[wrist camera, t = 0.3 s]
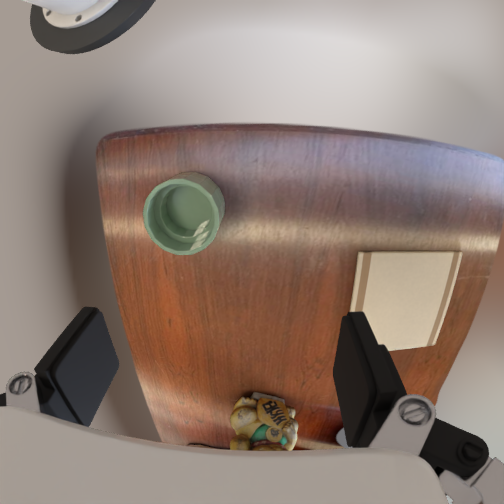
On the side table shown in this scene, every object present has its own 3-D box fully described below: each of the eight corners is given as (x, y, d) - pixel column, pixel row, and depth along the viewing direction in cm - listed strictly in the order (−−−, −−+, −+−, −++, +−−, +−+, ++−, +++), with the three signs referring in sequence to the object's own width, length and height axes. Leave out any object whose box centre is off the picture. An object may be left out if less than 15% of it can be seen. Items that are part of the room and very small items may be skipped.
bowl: (156, 173, 29) (139, 181, 24) (224, 170, 28) (216, 177, 24) (163, 237, 31) (148, 255, 27) (227, 237, 31) (221, 254, 27)
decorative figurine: (303, 396, 40) (312, 486, 26) (284, 425, 43) (287, 506, 29) (237, 384, 39) (227, 479, 25) (225, 415, 42) (214, 499, 29)
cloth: (357, 251, 31) (358, 252, 30) (461, 251, 30) (462, 252, 30) (341, 352, 36) (342, 354, 36) (433, 343, 36) (434, 345, 35)
